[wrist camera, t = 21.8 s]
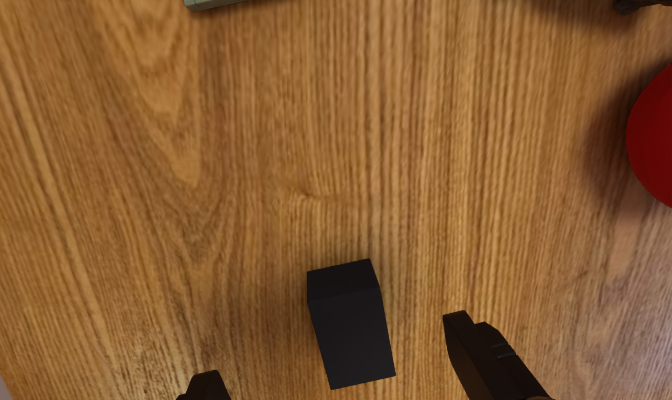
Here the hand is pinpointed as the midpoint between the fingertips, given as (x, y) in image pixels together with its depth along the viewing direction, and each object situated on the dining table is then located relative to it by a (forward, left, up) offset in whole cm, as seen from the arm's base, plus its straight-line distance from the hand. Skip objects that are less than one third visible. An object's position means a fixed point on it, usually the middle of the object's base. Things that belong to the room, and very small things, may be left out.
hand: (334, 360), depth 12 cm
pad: (+1, -9, -14) cm, 17 cm away
